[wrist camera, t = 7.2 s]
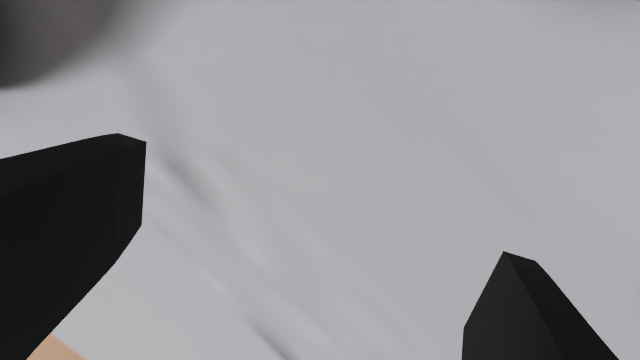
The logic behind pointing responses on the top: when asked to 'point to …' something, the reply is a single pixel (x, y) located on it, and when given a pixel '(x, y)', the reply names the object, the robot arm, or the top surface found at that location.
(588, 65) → the top surface
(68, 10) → the top surface
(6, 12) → the top surface
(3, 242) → the robot arm
